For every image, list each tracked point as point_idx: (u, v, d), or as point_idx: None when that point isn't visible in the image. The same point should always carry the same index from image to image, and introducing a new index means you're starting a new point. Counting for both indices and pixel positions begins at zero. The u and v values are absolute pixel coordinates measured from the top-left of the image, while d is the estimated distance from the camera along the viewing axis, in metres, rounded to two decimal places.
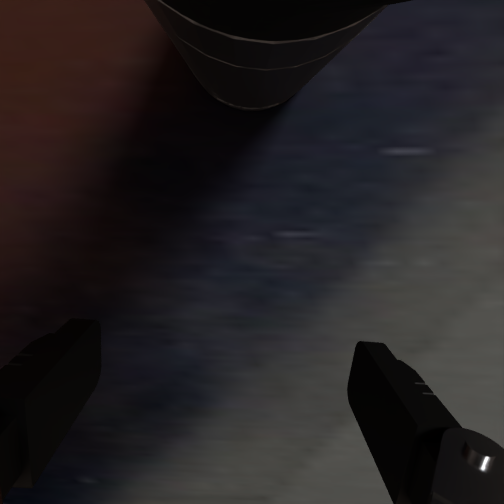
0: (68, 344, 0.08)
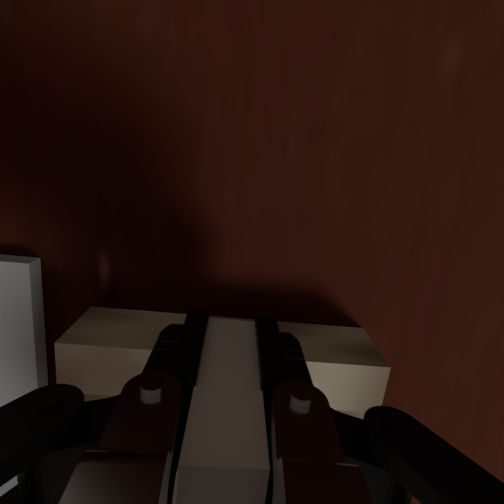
0: (201, 332, 0.10)
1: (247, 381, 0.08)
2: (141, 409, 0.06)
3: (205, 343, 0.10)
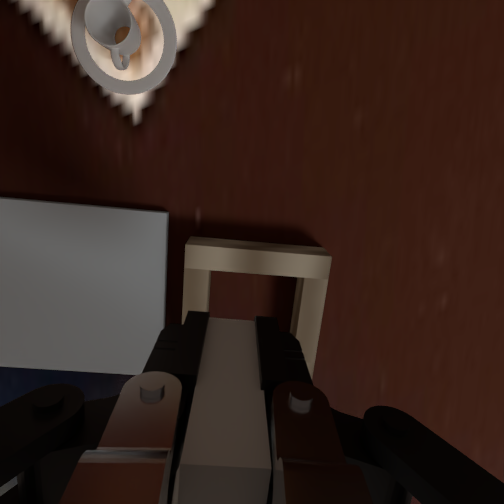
0: (201, 331, 0.10)
1: (248, 380, 0.08)
2: (141, 409, 0.06)
3: (206, 343, 0.10)
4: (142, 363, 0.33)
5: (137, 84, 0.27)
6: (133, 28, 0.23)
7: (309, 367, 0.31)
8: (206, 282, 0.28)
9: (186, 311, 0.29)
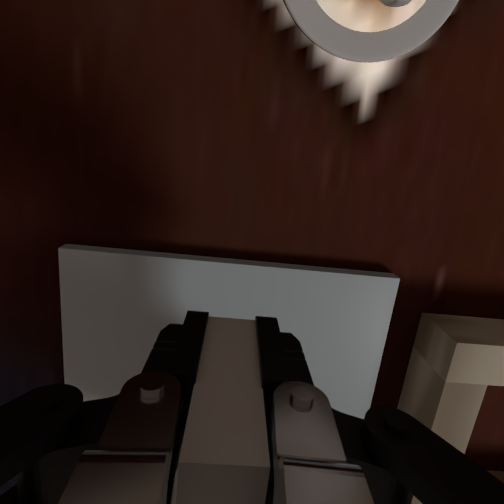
0: (200, 331, 0.10)
1: (247, 379, 0.08)
2: (140, 409, 0.06)
3: (205, 341, 0.10)
4: None
5: (382, 44, 0.14)
6: None
7: None
8: (478, 405, 0.16)
9: None
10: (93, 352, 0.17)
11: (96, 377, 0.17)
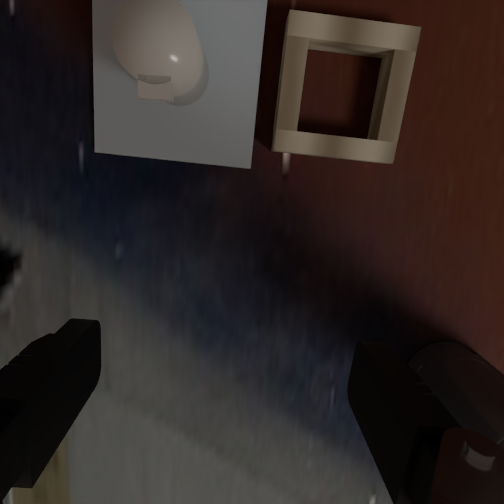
0: (68, 344, 0.08)
1: None
2: None
3: None
4: (233, 153, 0.35)
5: None
6: None
7: (392, 147, 0.33)
8: (305, 51, 0.31)
9: (285, 82, 0.32)
10: (108, 35, 0.32)
11: (109, 52, 0.32)
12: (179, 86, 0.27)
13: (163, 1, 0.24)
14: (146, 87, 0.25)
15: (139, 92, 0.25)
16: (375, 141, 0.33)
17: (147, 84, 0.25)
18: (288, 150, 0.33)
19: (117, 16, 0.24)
